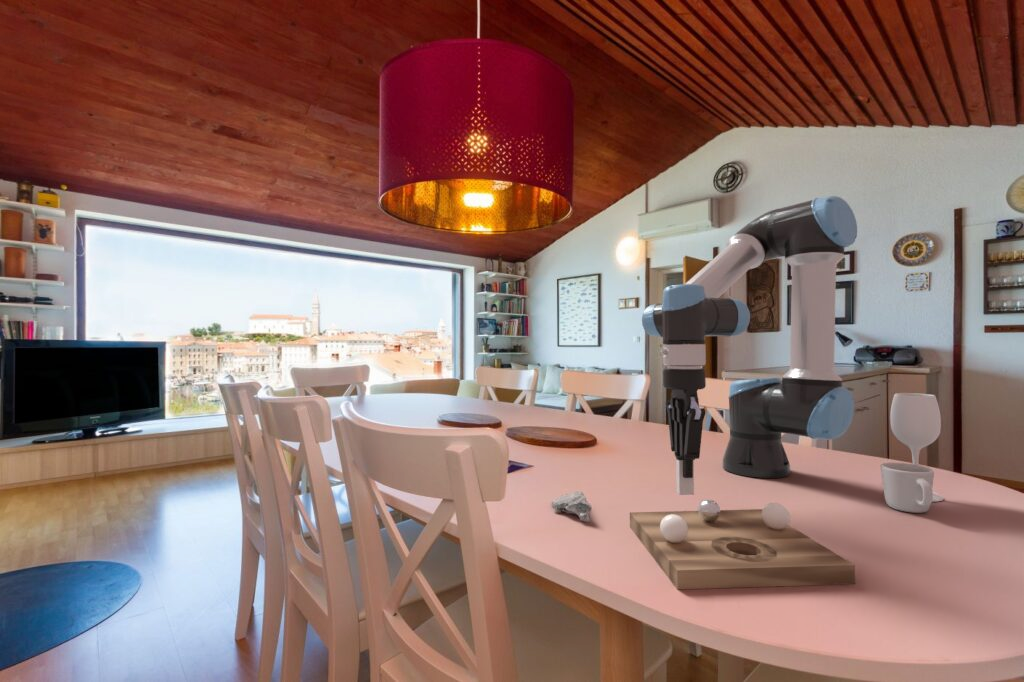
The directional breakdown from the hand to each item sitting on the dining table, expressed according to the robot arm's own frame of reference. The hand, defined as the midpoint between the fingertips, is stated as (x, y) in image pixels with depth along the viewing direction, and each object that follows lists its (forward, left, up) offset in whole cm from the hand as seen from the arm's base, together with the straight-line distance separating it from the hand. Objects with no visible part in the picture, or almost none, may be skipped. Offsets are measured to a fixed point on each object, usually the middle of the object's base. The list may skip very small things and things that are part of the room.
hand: (685, 493), depth 91 cm
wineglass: (-8, +52, -4) cm, 53 cm away
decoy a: (+14, +9, 0) cm, 17 cm away
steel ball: (+10, 0, 0) cm, 10 cm away
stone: (-4, -21, -5) cm, 22 cm away
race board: (+16, 0, -4) cm, 17 cm away
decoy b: (+18, -9, 0) cm, 20 cm away
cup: (+1, +43, -4) cm, 43 cm away
